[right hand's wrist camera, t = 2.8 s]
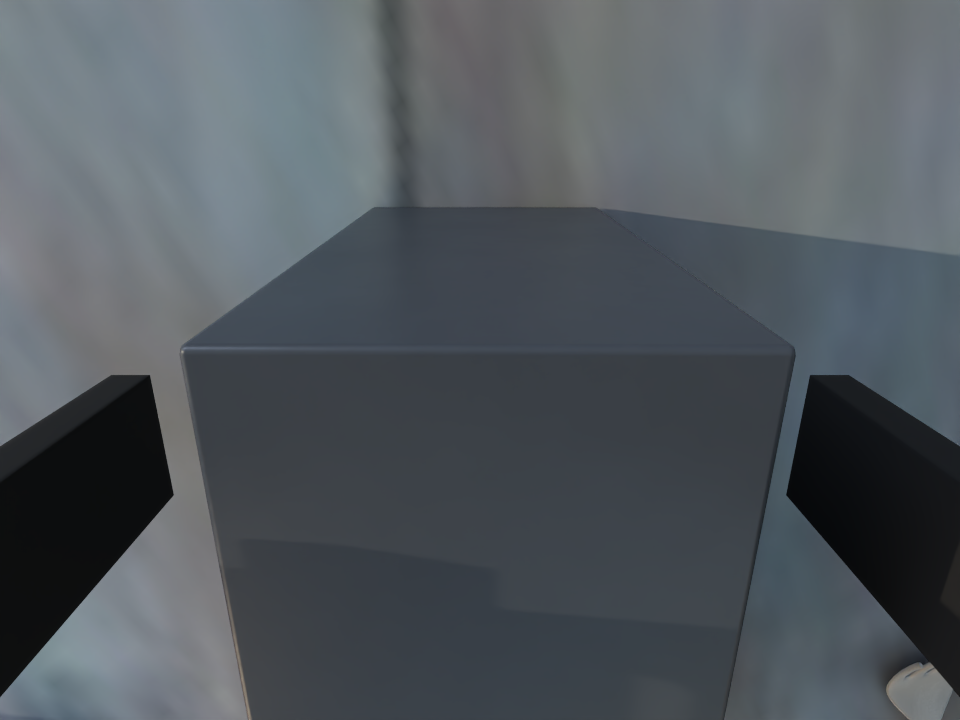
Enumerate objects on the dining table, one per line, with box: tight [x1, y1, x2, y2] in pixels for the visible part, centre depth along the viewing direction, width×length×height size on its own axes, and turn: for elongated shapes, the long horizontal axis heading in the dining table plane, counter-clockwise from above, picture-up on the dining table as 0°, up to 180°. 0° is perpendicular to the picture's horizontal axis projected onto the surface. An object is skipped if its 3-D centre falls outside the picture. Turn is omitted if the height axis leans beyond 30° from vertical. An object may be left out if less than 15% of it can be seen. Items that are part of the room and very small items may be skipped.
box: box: [180, 208, 796, 720], centre depth 16 cm, size 24×6×12 cm, turn 0°
